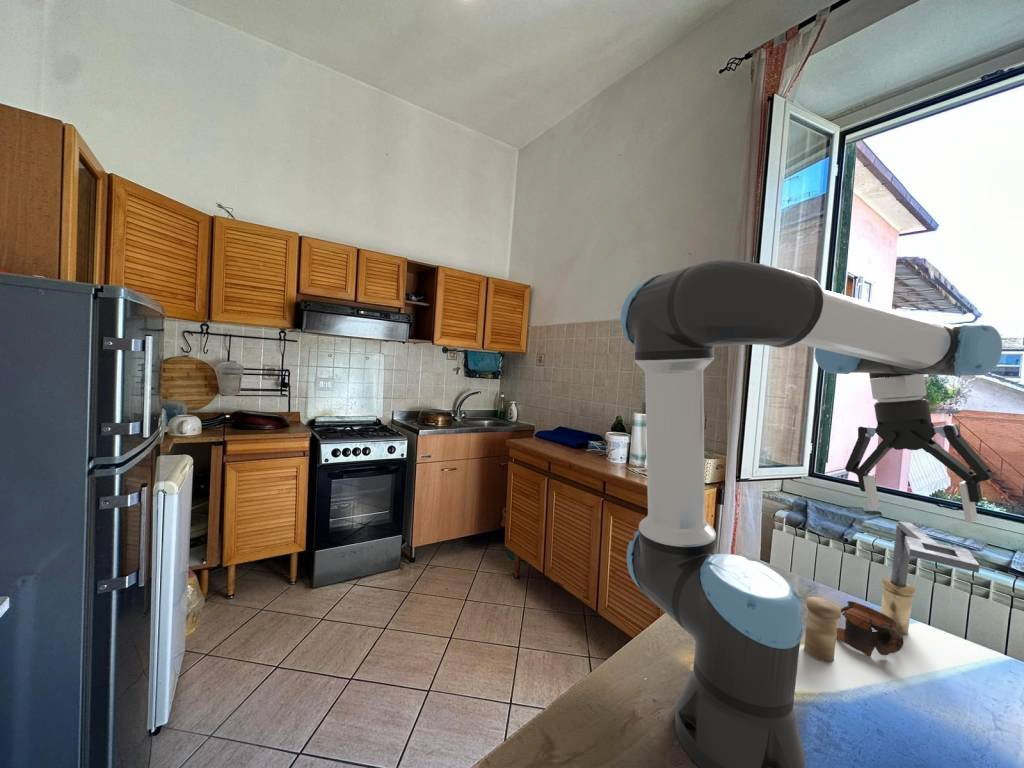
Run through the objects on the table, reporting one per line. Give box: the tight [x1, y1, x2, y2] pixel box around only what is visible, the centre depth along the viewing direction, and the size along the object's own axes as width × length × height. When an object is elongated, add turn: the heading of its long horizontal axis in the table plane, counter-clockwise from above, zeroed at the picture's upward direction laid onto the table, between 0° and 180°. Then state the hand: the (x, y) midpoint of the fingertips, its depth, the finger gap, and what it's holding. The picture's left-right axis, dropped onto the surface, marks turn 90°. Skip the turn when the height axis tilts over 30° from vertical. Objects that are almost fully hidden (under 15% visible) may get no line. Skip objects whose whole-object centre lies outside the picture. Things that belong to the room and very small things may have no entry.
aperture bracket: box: [880, 520, 980, 636], centre depth 78 cm, size 10×22×22 cm, turn 141°
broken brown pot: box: [836, 600, 904, 657], centre depth 79 cm, size 12×10×8 cm
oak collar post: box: [803, 596, 842, 663], centre depth 76 cm, size 5×5×9 cm
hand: (919, 514), depth 77 cm, fingers open, 13 cm apart
